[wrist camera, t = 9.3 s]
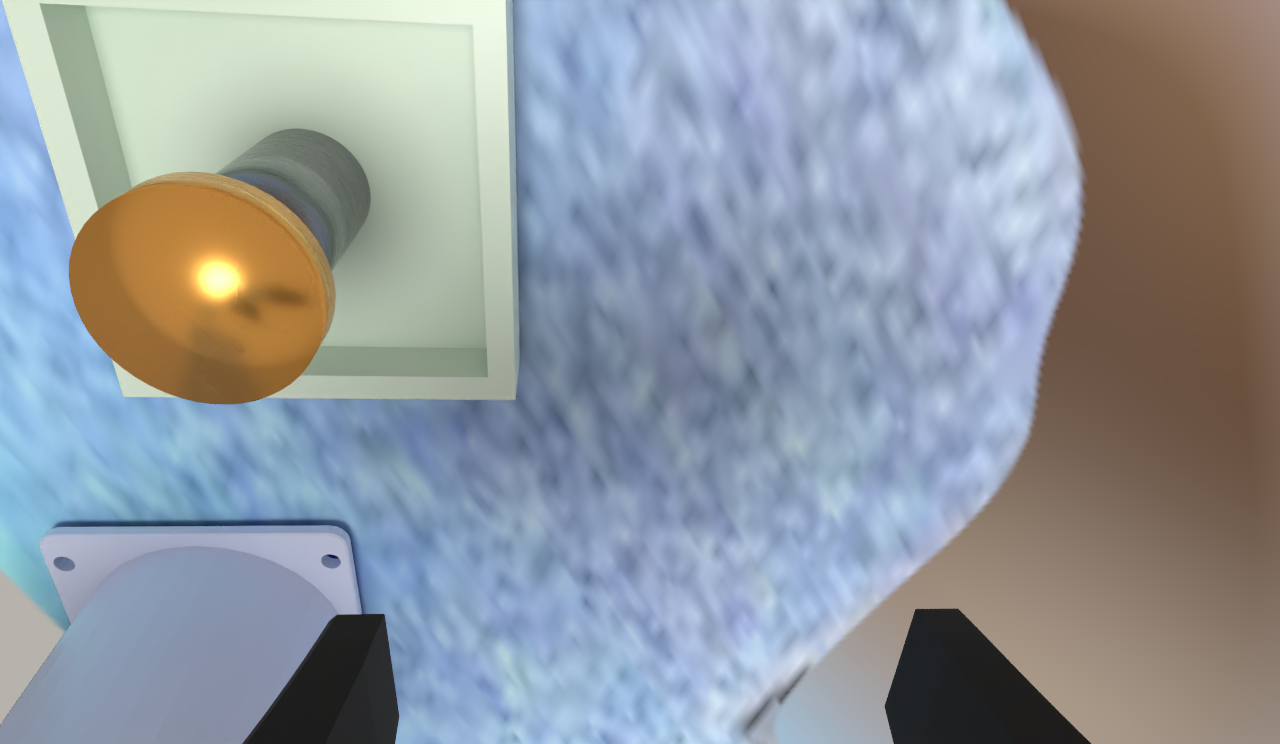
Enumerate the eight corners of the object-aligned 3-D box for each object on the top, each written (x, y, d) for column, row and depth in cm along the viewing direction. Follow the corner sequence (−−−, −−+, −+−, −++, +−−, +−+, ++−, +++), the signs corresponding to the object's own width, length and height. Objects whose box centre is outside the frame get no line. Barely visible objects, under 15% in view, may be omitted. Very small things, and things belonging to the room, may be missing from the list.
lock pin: (403, 267, 18) (339, 402, 13) (239, 268, 18) (110, 406, 13) (382, 104, 16) (299, 187, 11) (200, 102, 16) (33, 186, 11)
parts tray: (519, 358, 20) (515, 400, 19) (163, 353, 19) (123, 396, 18) (512, -18, 16) (505, -10, 14) (56, -44, 15) (-10, -38, 14)
